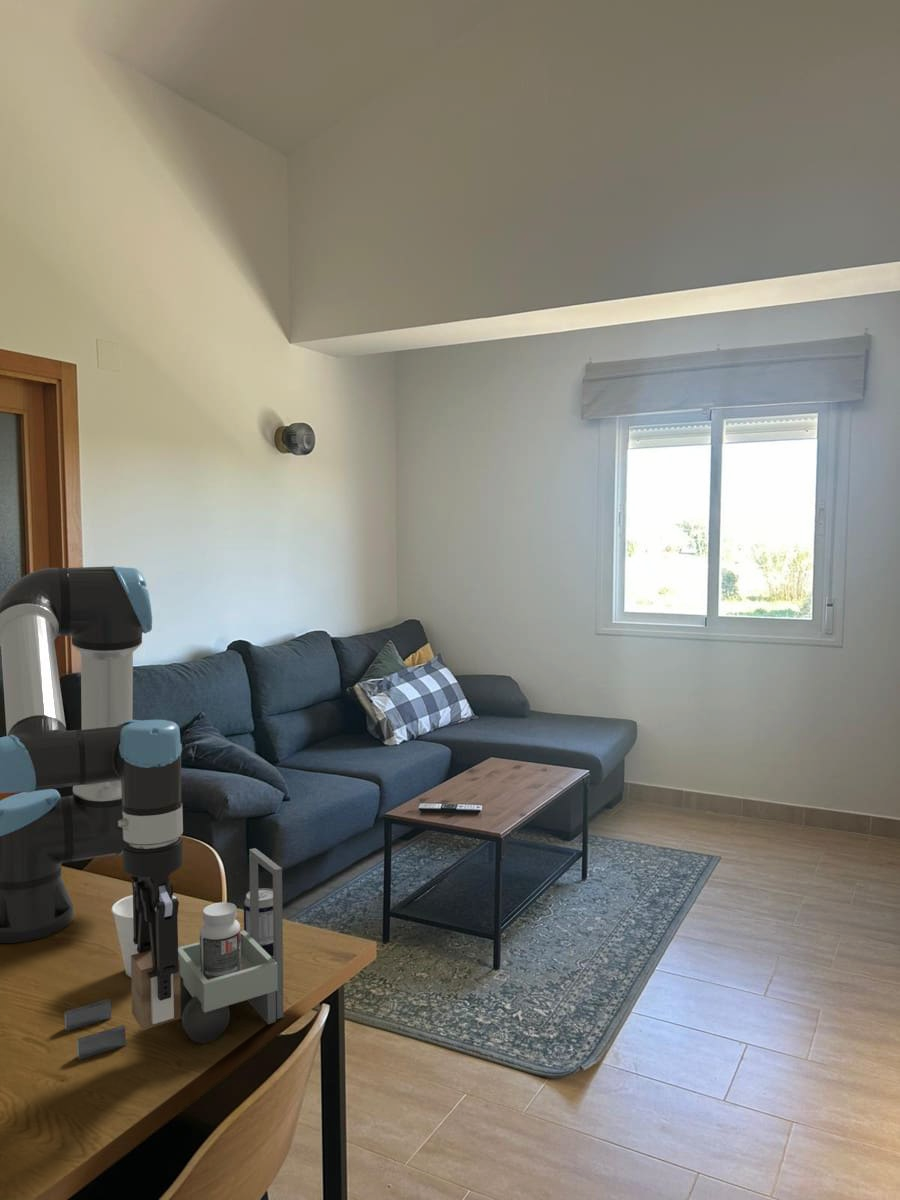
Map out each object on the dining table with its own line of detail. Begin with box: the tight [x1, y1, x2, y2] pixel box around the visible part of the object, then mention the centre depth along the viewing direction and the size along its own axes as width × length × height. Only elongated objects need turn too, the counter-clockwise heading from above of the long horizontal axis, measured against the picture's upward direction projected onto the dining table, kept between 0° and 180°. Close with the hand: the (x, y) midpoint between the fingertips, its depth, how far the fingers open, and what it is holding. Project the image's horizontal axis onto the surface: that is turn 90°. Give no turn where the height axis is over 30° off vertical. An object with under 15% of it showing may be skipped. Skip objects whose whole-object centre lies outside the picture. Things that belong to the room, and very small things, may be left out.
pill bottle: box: [199, 901, 241, 980], centre depth 126 cm, size 6×6×10 cm
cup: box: [110, 894, 177, 978], centre depth 140 cm, size 10×10×11 cm
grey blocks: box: [64, 998, 127, 1061], centre depth 121 cm, size 9×6×2 cm, turn 34°
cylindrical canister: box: [243, 887, 274, 959], centre depth 141 cm, size 6×6×12 cm
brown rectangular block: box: [130, 950, 182, 1031], centre depth 117 cm, size 5×5×8 cm
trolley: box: [178, 847, 285, 1044], centre depth 126 cm, size 13×14×22 cm
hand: (156, 1010), depth 117 cm, fingers closed on brown rectangular block, 5 cm apart
